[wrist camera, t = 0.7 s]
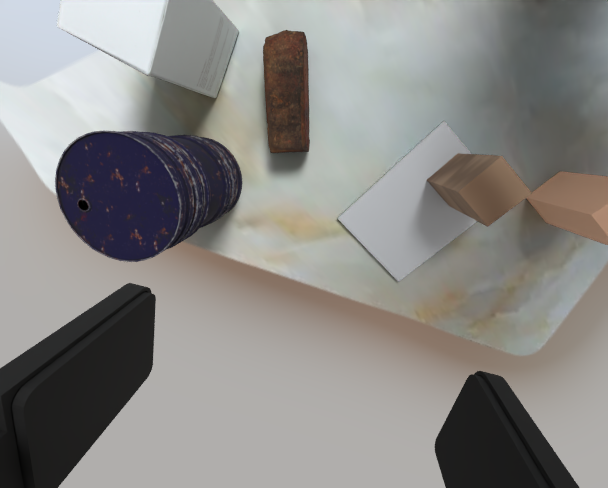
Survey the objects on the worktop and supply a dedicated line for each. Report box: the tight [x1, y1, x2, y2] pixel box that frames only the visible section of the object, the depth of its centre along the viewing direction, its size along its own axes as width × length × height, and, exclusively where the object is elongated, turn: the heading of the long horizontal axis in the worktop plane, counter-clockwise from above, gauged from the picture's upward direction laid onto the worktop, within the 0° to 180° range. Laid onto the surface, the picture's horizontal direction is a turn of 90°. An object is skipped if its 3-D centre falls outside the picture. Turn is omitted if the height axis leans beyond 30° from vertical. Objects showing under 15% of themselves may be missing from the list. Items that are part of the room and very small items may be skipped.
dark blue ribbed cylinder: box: [55, 131, 242, 262], centre depth 29 cm, size 10×10×15 cm
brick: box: [263, 30, 310, 153], centre depth 30 cm, size 11×4×5 cm, turn 2°
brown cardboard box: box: [427, 153, 532, 226], centre depth 28 cm, size 4×4×9 cm
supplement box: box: [57, 0, 239, 98], centre depth 26 cm, size 7×7×13 cm
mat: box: [338, 121, 477, 282], centre depth 34 cm, size 15×11×1 cm
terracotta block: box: [526, 171, 608, 245], centre depth 28 cm, size 4×4×9 cm
